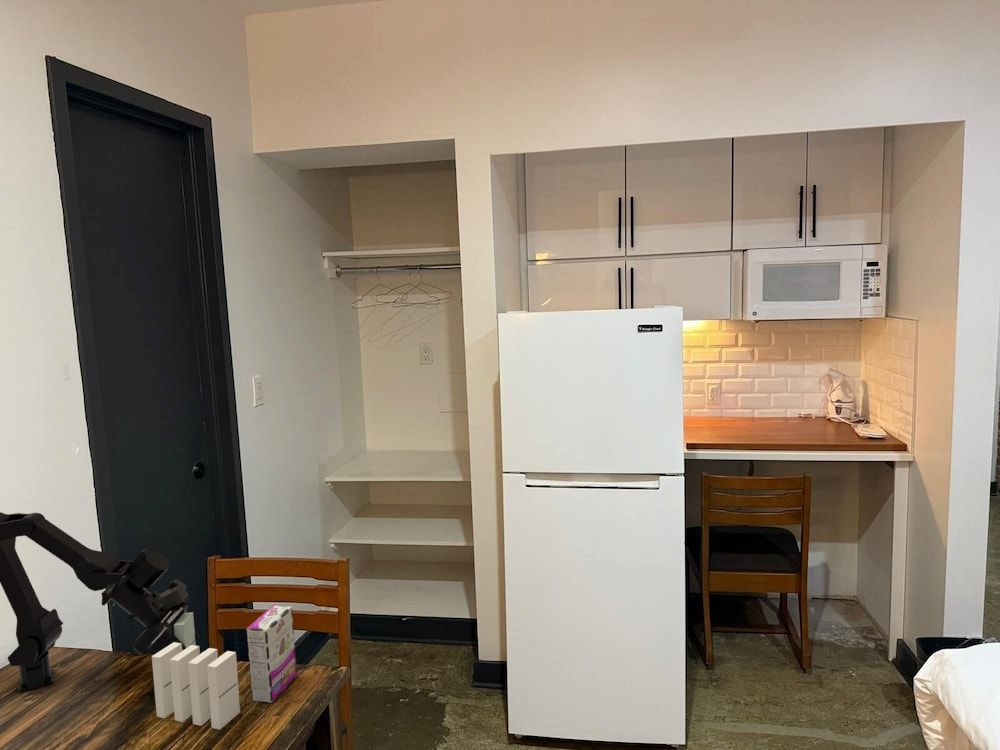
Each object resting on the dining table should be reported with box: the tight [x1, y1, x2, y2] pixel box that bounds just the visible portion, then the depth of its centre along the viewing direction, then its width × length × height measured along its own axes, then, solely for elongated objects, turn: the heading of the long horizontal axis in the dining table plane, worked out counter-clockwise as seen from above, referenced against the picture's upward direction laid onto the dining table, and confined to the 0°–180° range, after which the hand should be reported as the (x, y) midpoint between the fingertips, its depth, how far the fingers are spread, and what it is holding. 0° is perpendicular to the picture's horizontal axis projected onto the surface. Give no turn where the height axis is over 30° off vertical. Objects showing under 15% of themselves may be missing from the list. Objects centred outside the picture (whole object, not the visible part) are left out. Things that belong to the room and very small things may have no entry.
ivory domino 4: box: [207, 650, 241, 730], centre depth 141 cm, size 2×6×13 cm, turn 162°
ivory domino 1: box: [151, 642, 182, 719], centre depth 145 cm, size 2×6×13 cm, turn 162°
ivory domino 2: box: [170, 645, 201, 723], centre depth 144 cm, size 2×6×13 cm, turn 162°
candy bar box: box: [246, 604, 298, 704], centre depth 152 cm, size 11×5×16 cm, turn 168°
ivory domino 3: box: [188, 647, 219, 727], centre depth 142 cm, size 2×6×13 cm, turn 162°
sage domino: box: [173, 612, 197, 648], centre depth 159 cm, size 2×6×13 cm, turn 4°
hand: (192, 645), depth 159 cm, fingers closed on sage domino, 6 cm apart
